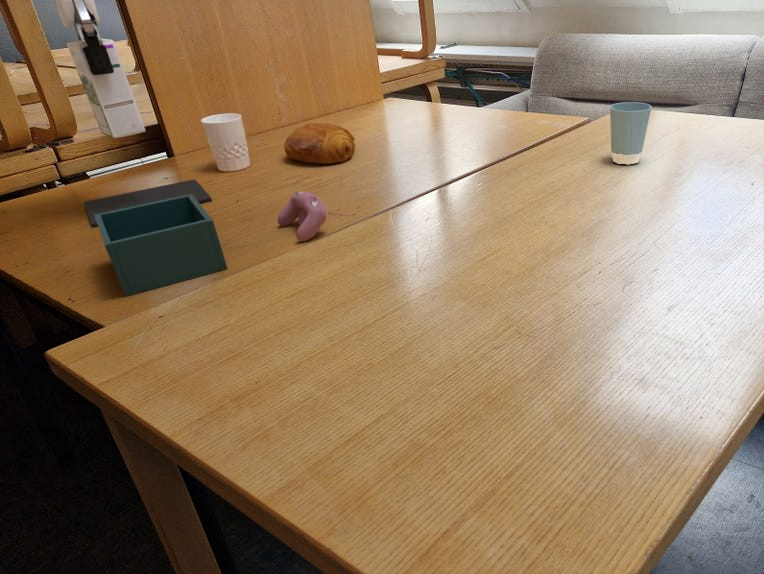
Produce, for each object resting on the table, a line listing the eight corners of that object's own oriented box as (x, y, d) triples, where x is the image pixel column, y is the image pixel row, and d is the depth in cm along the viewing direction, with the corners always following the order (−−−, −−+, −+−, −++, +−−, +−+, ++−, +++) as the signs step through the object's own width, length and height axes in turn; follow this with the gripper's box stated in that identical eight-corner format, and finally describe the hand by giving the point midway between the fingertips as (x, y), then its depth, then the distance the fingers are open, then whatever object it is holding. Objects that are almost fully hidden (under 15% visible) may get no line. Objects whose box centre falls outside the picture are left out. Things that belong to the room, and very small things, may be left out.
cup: (604, 166, 120) (609, 110, 114) (606, 155, 126) (610, 101, 121) (644, 168, 119) (651, 111, 113) (644, 156, 125) (650, 102, 119)
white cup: (261, 164, 132) (249, 115, 126) (231, 174, 126) (217, 124, 121) (236, 159, 135) (224, 112, 130) (207, 169, 130) (192, 120, 124)
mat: (92, 227, 105) (91, 224, 105) (84, 204, 115) (83, 201, 115) (212, 201, 114) (211, 197, 113) (195, 182, 123) (194, 179, 123)
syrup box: (147, 131, 107) (115, 38, 99) (112, 139, 104) (76, 43, 96) (134, 127, 111) (102, 36, 102) (99, 134, 107) (64, 41, 99)
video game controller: (323, 247, 98) (335, 204, 96) (296, 242, 95) (308, 197, 93) (300, 228, 104) (310, 188, 102) (274, 223, 101) (284, 181, 99)
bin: (126, 296, 83) (104, 245, 79) (113, 262, 93) (93, 214, 88) (227, 269, 89) (212, 219, 85) (206, 239, 99) (191, 193, 94)
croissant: (328, 180, 127) (324, 142, 122) (273, 160, 133) (267, 123, 128) (372, 159, 137) (371, 123, 132) (320, 141, 143) (316, 106, 138)
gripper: (23, -58, 96) (71, 67, 106) (26, -61, 84) (80, 81, 94) (77, -60, 99) (118, 62, 109) (87, -63, 87) (133, 74, 97)
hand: (100, 70), depth 101 cm, fingers closed on syrup box, 6 cm apart
